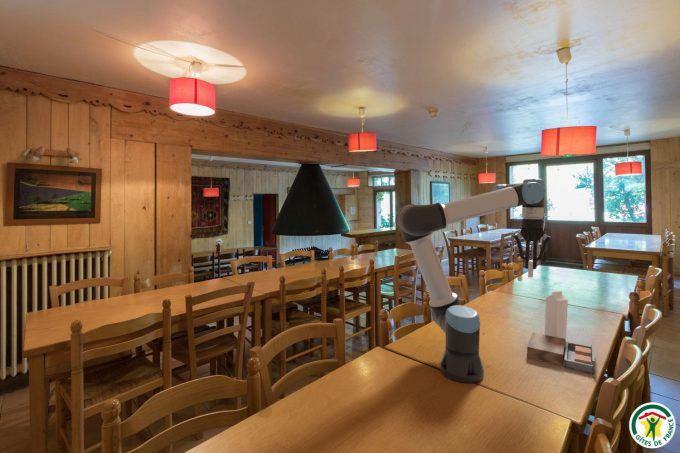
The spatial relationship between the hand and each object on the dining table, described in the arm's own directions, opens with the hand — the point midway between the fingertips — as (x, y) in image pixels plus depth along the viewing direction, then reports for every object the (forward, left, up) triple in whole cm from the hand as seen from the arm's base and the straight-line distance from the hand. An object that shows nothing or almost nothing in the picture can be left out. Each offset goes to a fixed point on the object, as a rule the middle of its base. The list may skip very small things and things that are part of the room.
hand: (530, 276), depth 135 cm
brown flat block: (+6, +6, -32) cm, 33 cm away
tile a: (+18, +2, -29) cm, 34 cm away
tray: (+17, +6, -32) cm, 37 cm away
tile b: (+18, +11, -29) cm, 36 cm away
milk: (+8, +25, -33) cm, 42 cm away
